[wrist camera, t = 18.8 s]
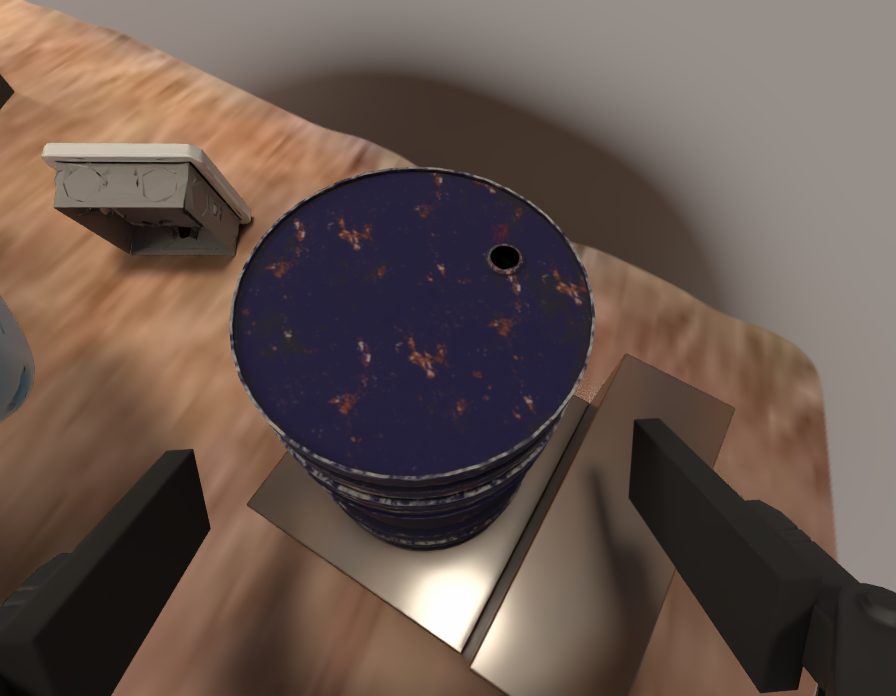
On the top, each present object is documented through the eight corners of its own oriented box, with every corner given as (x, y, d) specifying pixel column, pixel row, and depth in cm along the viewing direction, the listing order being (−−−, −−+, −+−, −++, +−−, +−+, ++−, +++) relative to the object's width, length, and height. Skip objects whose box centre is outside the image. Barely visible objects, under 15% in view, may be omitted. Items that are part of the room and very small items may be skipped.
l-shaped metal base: (269, 517, 29) (192, 475, 20) (405, 333, 35) (392, 235, 26) (546, 710, 25) (604, 765, 16) (649, 467, 31) (736, 407, 22)
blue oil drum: (381, 595, 24) (306, 571, 11) (303, 417, 28) (177, 238, 15) (558, 490, 26) (679, 364, 13) (463, 340, 30) (481, 125, 17)
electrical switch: (256, 215, 39) (203, 121, 31) (246, 275, 38) (187, 192, 29) (133, 215, 39) (45, 120, 31) (117, 274, 37) (19, 191, 29)
